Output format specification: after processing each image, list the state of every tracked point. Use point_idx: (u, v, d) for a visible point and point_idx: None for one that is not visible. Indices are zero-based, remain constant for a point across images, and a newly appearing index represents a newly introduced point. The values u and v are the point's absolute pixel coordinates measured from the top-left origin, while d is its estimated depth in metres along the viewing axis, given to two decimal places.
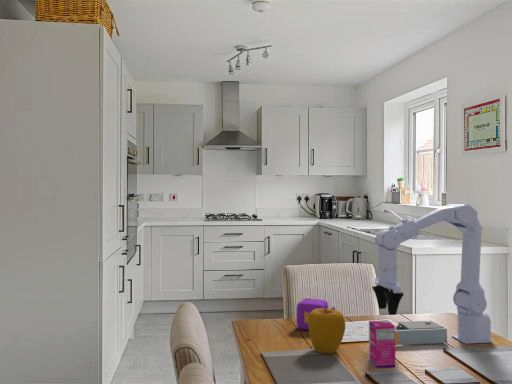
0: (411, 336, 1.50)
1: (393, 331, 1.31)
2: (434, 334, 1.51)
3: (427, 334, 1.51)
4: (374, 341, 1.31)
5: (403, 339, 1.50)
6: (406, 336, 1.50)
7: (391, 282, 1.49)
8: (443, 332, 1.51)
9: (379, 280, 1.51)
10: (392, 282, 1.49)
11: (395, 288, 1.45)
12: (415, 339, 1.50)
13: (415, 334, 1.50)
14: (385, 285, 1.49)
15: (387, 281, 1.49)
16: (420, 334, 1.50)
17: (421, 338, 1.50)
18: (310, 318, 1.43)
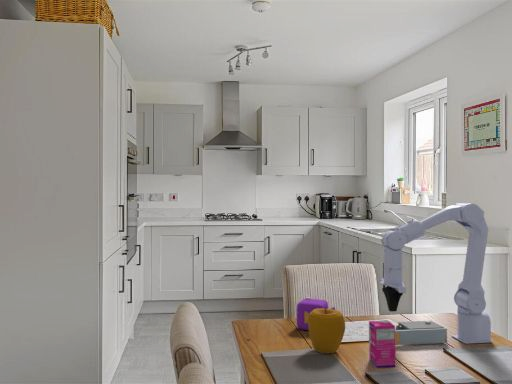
0: (411, 336, 1.50)
1: (393, 331, 1.31)
2: (434, 334, 1.51)
3: (427, 334, 1.51)
4: (374, 341, 1.31)
5: (403, 339, 1.50)
6: (406, 336, 1.50)
7: (396, 282, 1.52)
8: (443, 332, 1.51)
9: (385, 280, 1.54)
10: (397, 282, 1.53)
11: (400, 288, 1.48)
12: (415, 339, 1.50)
13: (415, 334, 1.50)
14: (390, 285, 1.52)
15: (392, 281, 1.52)
16: (420, 334, 1.50)
17: (421, 338, 1.50)
18: (310, 318, 1.43)
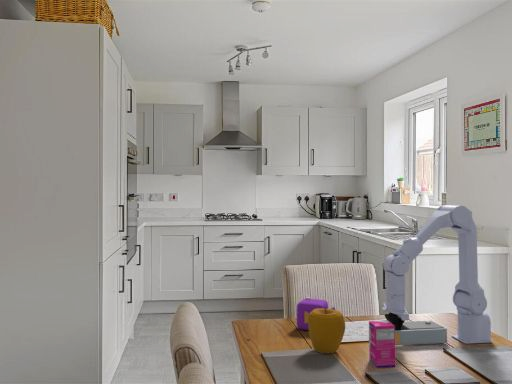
0: (411, 336, 1.50)
1: (393, 331, 1.31)
2: (434, 334, 1.51)
3: (427, 334, 1.51)
4: (374, 341, 1.31)
5: (403, 339, 1.49)
6: (406, 336, 1.49)
7: (399, 309, 1.48)
8: (443, 332, 1.51)
9: (387, 306, 1.50)
10: (400, 309, 1.48)
11: (403, 315, 1.44)
12: (415, 339, 1.50)
13: (415, 334, 1.50)
14: (393, 312, 1.47)
15: (395, 308, 1.48)
16: (420, 334, 1.50)
17: (421, 338, 1.50)
18: (310, 318, 1.43)
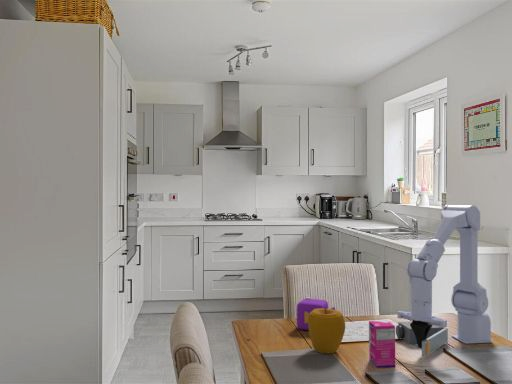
0: (433, 343, 1.43)
1: (393, 331, 1.31)
2: (442, 336, 1.49)
3: (439, 337, 1.47)
4: (374, 341, 1.31)
5: (430, 348, 1.41)
6: (431, 344, 1.42)
7: (430, 316, 1.39)
8: (446, 332, 1.51)
9: (417, 315, 1.39)
10: (431, 315, 1.40)
11: (444, 323, 1.36)
12: (435, 345, 1.44)
13: (435, 340, 1.44)
14: (428, 320, 1.38)
15: (427, 315, 1.39)
16: (437, 339, 1.46)
17: (437, 343, 1.46)
18: (310, 318, 1.43)
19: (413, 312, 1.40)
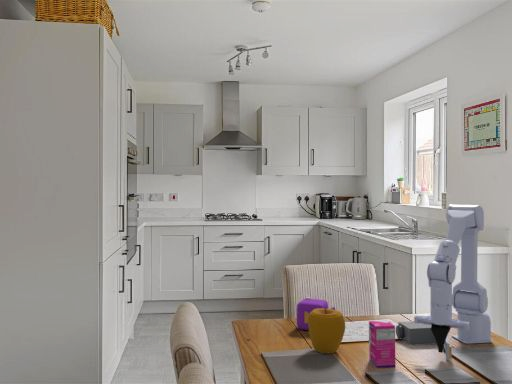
0: None
1: (393, 331, 1.31)
2: None
3: None
4: (374, 341, 1.31)
5: None
6: None
7: (451, 319, 1.36)
8: None
9: (440, 319, 1.35)
10: (451, 318, 1.37)
11: (468, 325, 1.34)
12: None
13: None
14: (452, 323, 1.34)
15: (450, 318, 1.36)
16: None
17: None
18: (310, 318, 1.43)
19: (435, 316, 1.36)
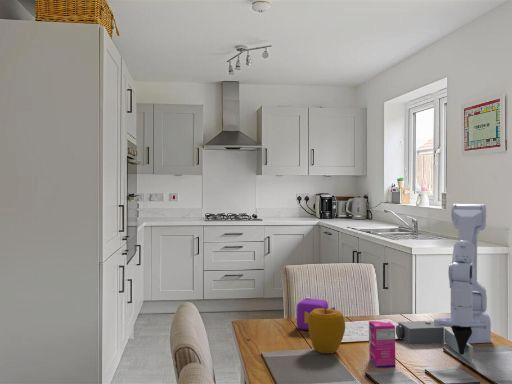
0: None
1: (393, 331, 1.31)
2: None
3: None
4: (374, 341, 1.31)
5: None
6: None
7: None
8: None
9: (465, 320, 1.34)
10: None
11: None
12: None
13: None
14: (475, 324, 1.34)
15: (472, 319, 1.35)
16: None
17: None
18: (310, 318, 1.43)
19: (459, 318, 1.34)
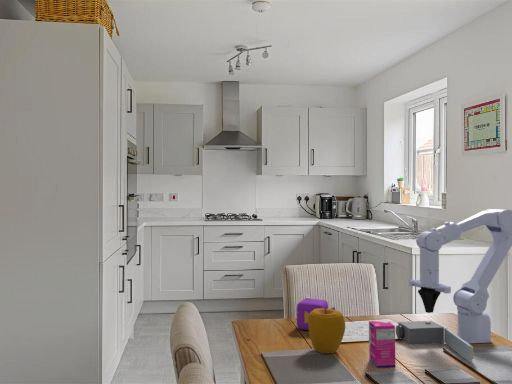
0: None
1: (393, 331, 1.31)
2: None
3: None
4: (374, 341, 1.31)
5: None
6: None
7: (436, 283, 1.52)
8: None
9: (424, 282, 1.53)
10: (437, 283, 1.52)
11: (447, 289, 1.48)
12: None
13: None
14: (433, 286, 1.51)
15: (433, 282, 1.52)
16: None
17: None
18: (310, 318, 1.43)
19: (421, 279, 1.54)
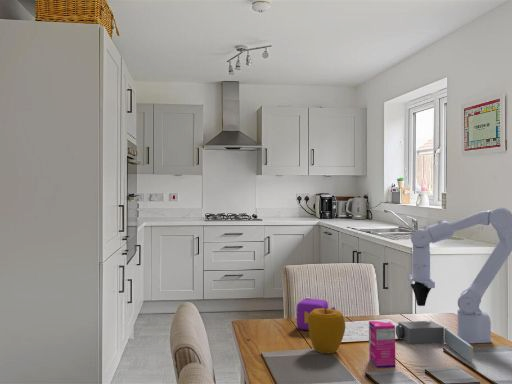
0: None
1: (393, 331, 1.31)
2: None
3: None
4: (374, 341, 1.31)
5: None
6: None
7: (425, 278, 1.61)
8: None
9: (414, 276, 1.63)
10: (426, 278, 1.61)
11: (430, 283, 1.56)
12: None
13: None
14: (420, 281, 1.60)
15: (421, 277, 1.61)
16: None
17: None
18: (310, 318, 1.43)
19: (412, 274, 1.64)
